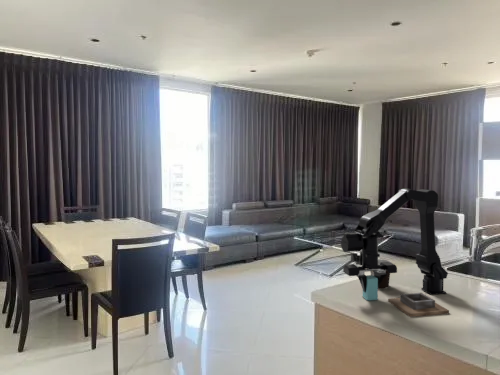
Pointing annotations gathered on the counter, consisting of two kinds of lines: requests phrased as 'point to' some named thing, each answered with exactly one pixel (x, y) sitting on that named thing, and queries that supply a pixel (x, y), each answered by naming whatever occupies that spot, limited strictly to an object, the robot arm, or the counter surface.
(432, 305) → the well block
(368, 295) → the teal post
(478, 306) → the counter surface
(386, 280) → the coffee mug
